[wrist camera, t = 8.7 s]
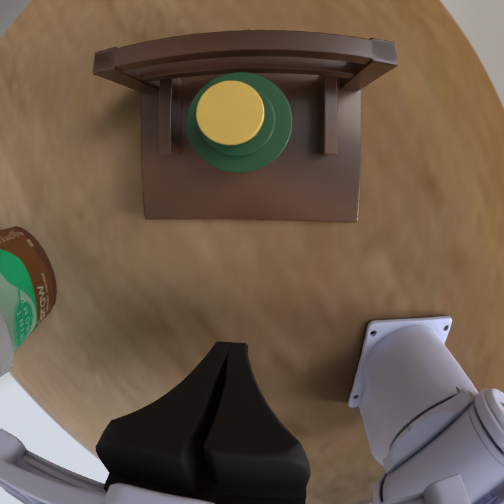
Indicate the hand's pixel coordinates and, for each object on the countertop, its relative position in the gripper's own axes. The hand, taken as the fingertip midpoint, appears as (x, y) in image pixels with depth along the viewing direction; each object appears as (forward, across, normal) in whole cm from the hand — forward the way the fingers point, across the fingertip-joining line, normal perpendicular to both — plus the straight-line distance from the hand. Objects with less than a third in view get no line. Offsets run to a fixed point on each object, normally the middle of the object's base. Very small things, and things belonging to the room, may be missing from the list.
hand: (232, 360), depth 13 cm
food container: (+9, +19, +1) cm, 21 cm away
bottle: (+8, 0, -10) cm, 13 cm away
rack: (+9, 0, -10) cm, 13 cm away
